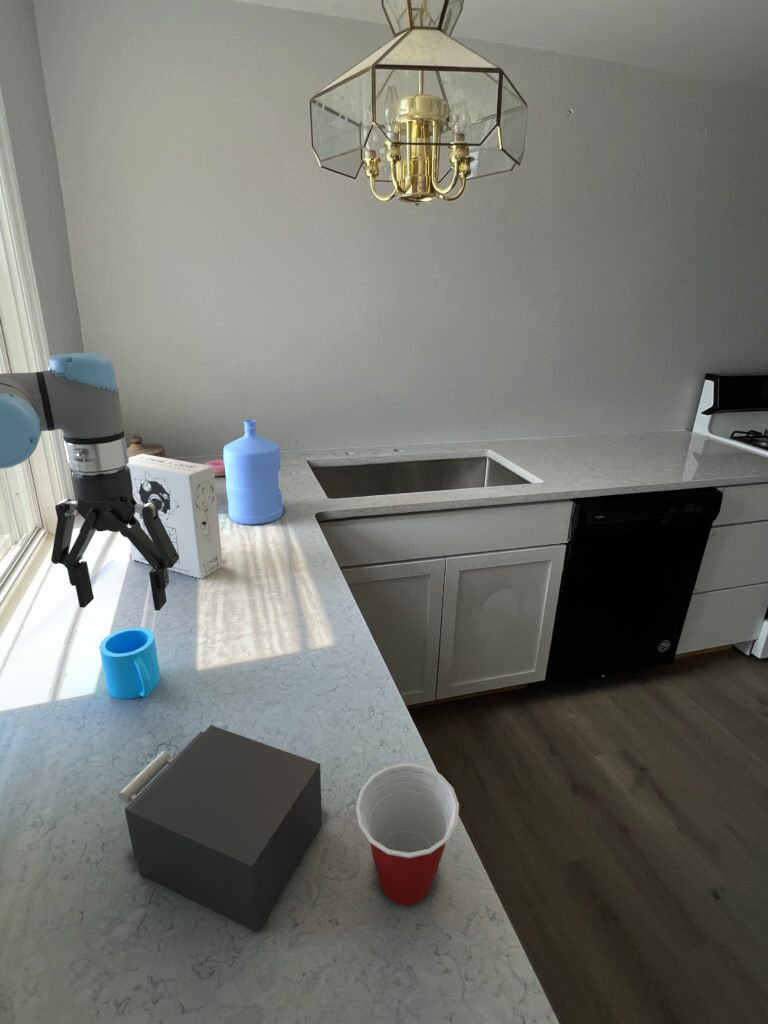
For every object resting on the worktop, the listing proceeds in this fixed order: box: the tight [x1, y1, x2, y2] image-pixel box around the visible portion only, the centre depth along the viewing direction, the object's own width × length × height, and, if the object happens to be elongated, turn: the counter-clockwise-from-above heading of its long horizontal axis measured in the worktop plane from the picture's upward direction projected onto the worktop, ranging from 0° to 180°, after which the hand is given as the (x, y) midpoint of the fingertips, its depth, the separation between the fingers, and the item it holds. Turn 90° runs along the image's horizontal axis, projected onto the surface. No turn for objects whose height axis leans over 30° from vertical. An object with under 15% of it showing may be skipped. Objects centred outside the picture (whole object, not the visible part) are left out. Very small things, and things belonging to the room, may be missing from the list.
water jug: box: [222, 419, 284, 526], centre depth 158 cm, size 16×16×28 cm
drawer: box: [118, 731, 205, 861], centre depth 65 cm, size 19×13×8 cm, turn 68°
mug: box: [98, 626, 161, 700], centre depth 90 cm, size 12×8×8 cm
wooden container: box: [126, 435, 167, 458], centre depth 163 cm, size 15×15×22 cm
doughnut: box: [204, 459, 226, 478], centre depth 199 cm, size 11×11×4 cm
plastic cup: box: [355, 762, 460, 906], centre depth 60 cm, size 11×11×12 cm
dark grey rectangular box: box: [127, 724, 323, 933], centre depth 64 cm, size 16×14×10 cm
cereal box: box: [126, 454, 224, 580], centre depth 129 cm, size 22×8×25 cm, turn 65°
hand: (123, 604), depth 86 cm, fingers open, 11 cm apart
